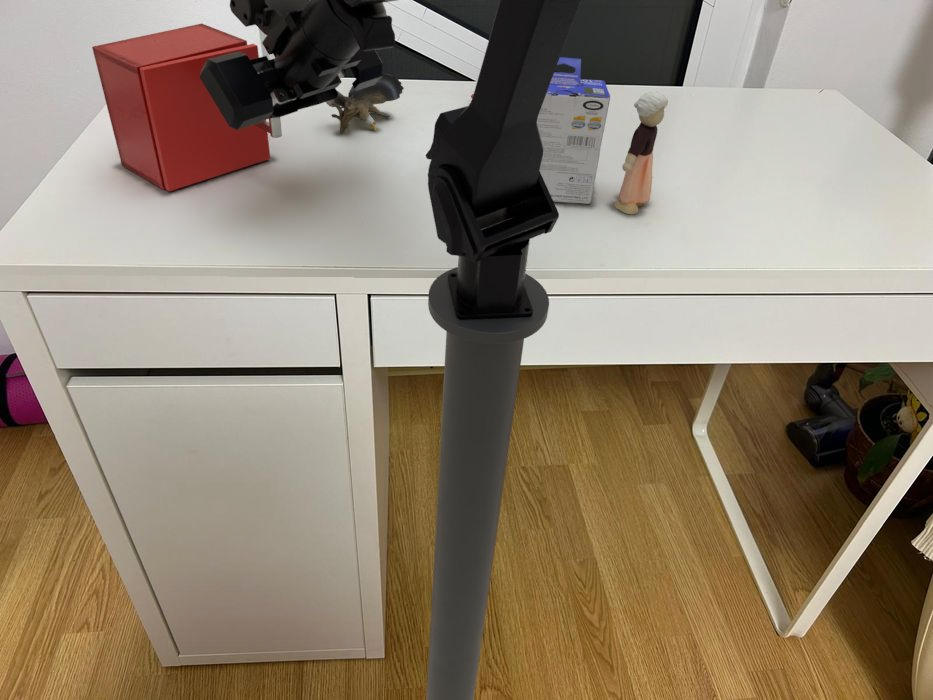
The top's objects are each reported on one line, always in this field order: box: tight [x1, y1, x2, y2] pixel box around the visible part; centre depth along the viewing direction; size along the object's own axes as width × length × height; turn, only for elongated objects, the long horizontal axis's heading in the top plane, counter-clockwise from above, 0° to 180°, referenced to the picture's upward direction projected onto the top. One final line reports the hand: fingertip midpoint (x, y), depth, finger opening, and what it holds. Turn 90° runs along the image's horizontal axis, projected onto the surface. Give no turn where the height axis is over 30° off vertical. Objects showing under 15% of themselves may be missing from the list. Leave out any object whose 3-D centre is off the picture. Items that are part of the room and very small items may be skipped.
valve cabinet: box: [91, 23, 248, 191], centre depth 81 cm, size 8×13×13 cm, turn 140°
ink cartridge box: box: [537, 56, 611, 205], centre depth 80 cm, size 10×6×14 cm, turn 89°
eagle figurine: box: [325, 72, 404, 134], centre depth 94 cm, size 8×7×9 cm
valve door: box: [140, 43, 283, 192], centre depth 77 cm, size 6×13×13 cm, turn 137°
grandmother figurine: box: [613, 90, 669, 215], centre depth 79 cm, size 8×4×13 cm, turn 161°
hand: (267, 113), depth 79 cm, fingers closed on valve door
